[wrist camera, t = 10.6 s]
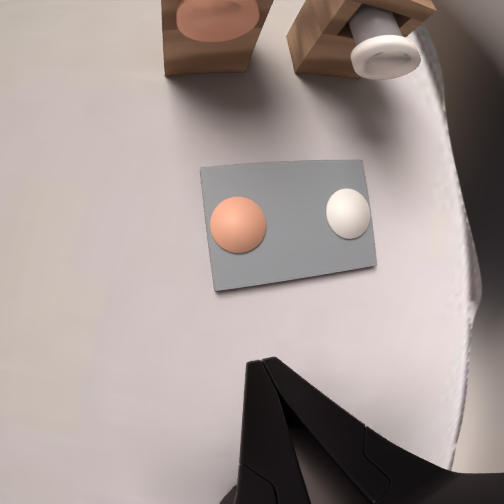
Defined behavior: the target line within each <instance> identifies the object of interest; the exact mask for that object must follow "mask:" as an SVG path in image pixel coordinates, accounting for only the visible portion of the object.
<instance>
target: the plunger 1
mask: <svg viewBox="0 0 504 504" xmlns="http://www.w3.org/2000/svg"><path fill="white" fill-rule="evenodd" d="M176 19H177V27H178V29H179V31H180V32H181V33H182V34H184V35H185V36H187V37H188V38H191V39H193V40H197V41H202V42H221V41H227V40H231V39H235V38H238V37H240V36H242V35H244V34H246V33H247V32H249V31H250V30H251V29H253V28H254V27H255V25H256V24H257V22H258V20H259V9H258V5H257V1H256V0H181V1H180V3H179V4H178V7H177V11H176Z"/></svg>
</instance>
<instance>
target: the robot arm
mask: <svg viewBox="0 0 504 504" xmlns="http://www.w3.org/2000/svg"><path fill="white" fill-rule="evenodd" d="M220 504H504V473H484V474H483V473H480V474H479V473H477V474H475V473H474V474H473V473H457V472H453V471H449V470H446V469H443V468H441V467H439V466H437V465H434V464H432V463H430V462H428V461H426V460H424V459H422V458H420V457H418V456H416V455H414V454H412V453H410V452H408V451H406V450H404V449H402V448H401V447H399V446H397V445H395V444H393V443H392V442H390V441H388V440H387V439H385V438H384V437H382V436H381V435H379V434H378V433H376V432H375V431H373V430H372V429H371V428H369V427H368V426H366V427H365V424H363V423H362V422H361V421H359V420H358V419H357V418H355V417H354V416H352V415H351V414H350V413H348V412H347V411H346V410H344V409H343V408H341V407H340V406H339V405H337V404H336V403H335V402H333V401H332V400H331V399H329V398H328V397H327V396H325V395H324V394H323V393H322V392H320V391H319V390H318V389H316V388H315V387H314V386H312V385H311V384H310V383H308V382H307V381H306V380H305V379H303V378H302V377H301V376H299V375H298V374H297V373H296V372H294V371H293V370H292V369H291V368H289V367H288V366H287V365H286V364H284V363H283V362H282V361H281V360H279V359H278V358H277V357H270V358H265V359H262V360H255V361H250V362H247V363H246V373H245V387H244V402H243V416H242V430H241V444H240V459H239V470H238V482H237V485H236V486H234V487H233V488H232V489H231V491H230V492H229V493H228V494H227V495H226V496H225V497H224V498H223V500H222V501H221V502H220Z"/></svg>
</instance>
